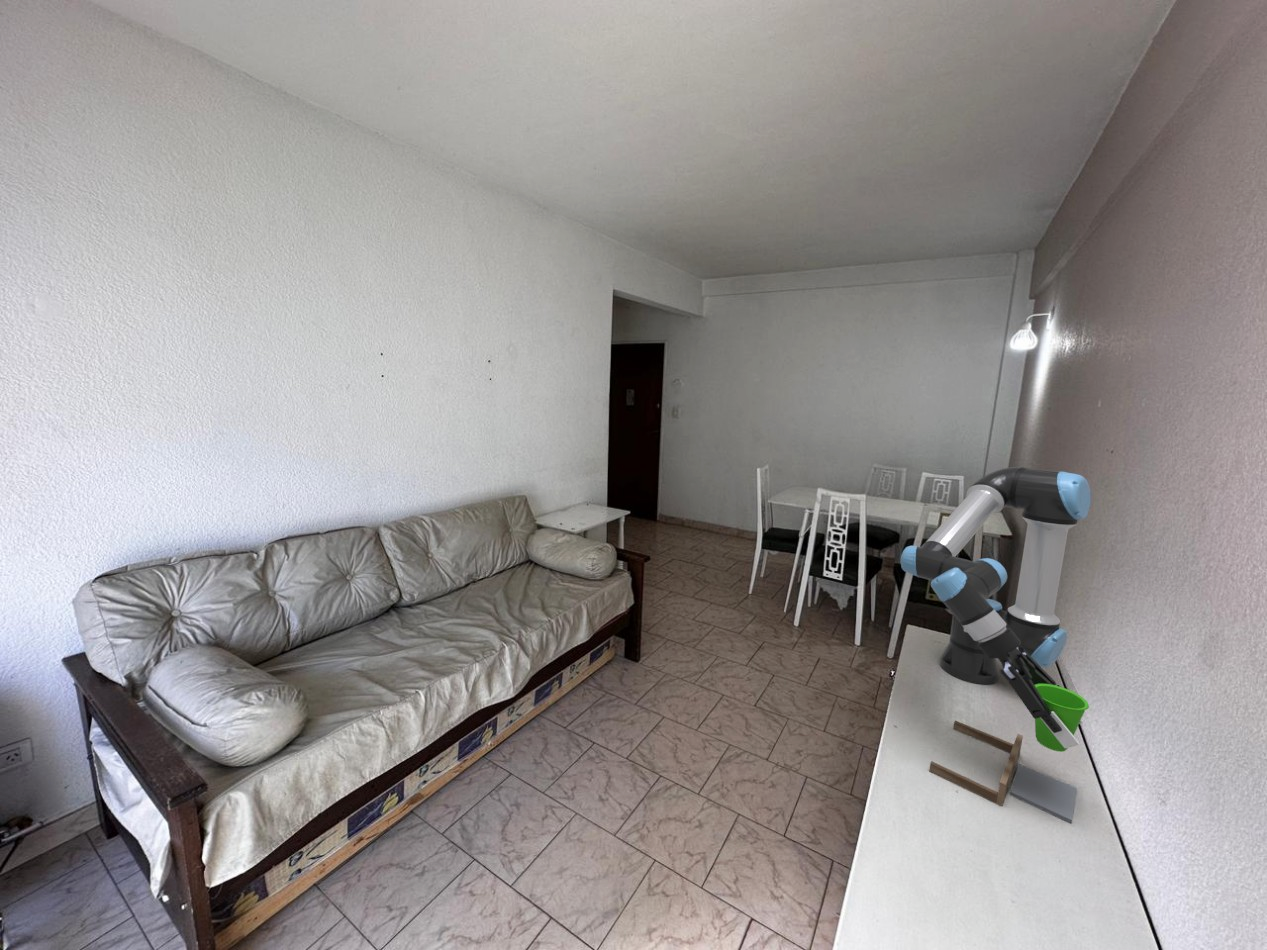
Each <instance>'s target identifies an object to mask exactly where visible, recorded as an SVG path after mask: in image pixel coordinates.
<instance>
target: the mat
mask: <svg viewBox="0 0 1267 950" xmlns="http://www.w3.org/2000/svg"><path fill="white" fill-rule="evenodd" d="M1017 766H1018V767H1017V769H1016V771H1015V776H1014V779H1013V782H1012V785H1011V788H1010V789H1009V795H1010V796H1011V797H1013V798H1016V799H1018V800H1020V801H1022V802H1024V803H1026V804H1029V805H1030V806H1032V807H1035V808H1037V809H1039V810H1040V811H1043V812H1046V813H1048V814H1050V815H1052V816H1054V817H1057V818H1058V819H1061V821H1062V820H1063V821H1064V822H1066V823H1069V824H1072V823H1073V817H1074V815H1073V814H1074V812H1075V811H1074V810H1075V804H1076V798H1077V797H1076V796H1077V793H1078V792H1077V791H1078V787H1076V786H1074V785H1071V784H1069V783H1066V782H1064V781H1062V780H1059V779H1057V778H1054V777H1052V776H1050V775H1048V774H1045V773H1042V772H1040V771H1038V770H1036V769H1034V768H1031V767H1028V766H1026V765H1024V764H1022V763H1019V764H1018V765H1017Z"/></svg>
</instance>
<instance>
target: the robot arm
mask: <svg viewBox="0 0 1267 950" xmlns="http://www.w3.org/2000/svg"><path fill="white" fill-rule="evenodd" d="M965 495H966V497H965V498H964V499H963V500H962V502H960V504H959V505H958V506H957V507H956V508H955V509H954V510H953V511H952V513H950V514H949V516H948V517H947V518H946V519H945V520H944V521H943V523H941V525H940V526H939V527H938V528H937V529H936V530H935V531H934V532H933V533H932V534H931V536H930V537H929V538H928V539H927V540H926V541H925V542H924V543H923V544H922V545H921V546H918V545H909V546H906V547H905V548H904V549H903V551H902V552H901V556H900V559H899V560H900V565H901V566H900V567H901V569H902V571H904V572H905V573H907V574H909V575H912V576H915V577H917V578H921V579H924V580H929V581H931V582H930V587H931V589H932V590H933V591H934V593H935V594H936V595H937V597H938V599H939V600H940V601H941V602H942V603H943V604H944V605H945V606H946V608H947V609H948V610H949V611H950V613H951V614H952V619H951V627H950V636H949V642H948V644H947V645H946V647H945V649H944V651H943V652H942V654H941V656H940V660H939V662H940V663H939V665H940V667H941V668H942V669H943V670H944V671H945V672H946V673H948V674H950V675H952V676H953V677H955V678H957V679H960V680H961V681H965V682H970V683H972V684H978V683H979V685H992V683H993V684H995V682H996V683H997V682H998V681H999V677H1000V674H1001V675H1002V676H1003V677H1004V678H1005V680H1007V682H1008V683H1009V684H1010V686H1011V688H1012V689H1013V690H1014V692H1015V693H1016V694H1017V697H1018V698H1019V699H1020V701H1022V703H1023V704H1024V706H1025V707H1026V709H1027V710H1028V711H1029V713H1030V715H1031V716H1032V718H1033V719H1034V720H1035V719H1036V718H1039V717H1040V718H1041V720H1042V721H1043V722H1044V723H1045V725H1046V726H1047V727H1048V728H1049V730H1050V731H1051V732H1052V733H1053V734H1054V736H1055V737H1056V738H1057V739H1058V741H1059V742H1060V743H1061V744H1062V746H1063V747H1064V748H1068V749H1069V748H1072V747H1077V746H1080V742H1079V741H1078V739H1077V738H1076V737H1075V735H1074V736H1073V734H1072V733H1071V732H1070V731H1069V730H1068V728H1067V727H1066V726H1065V725H1064V724H1063V722H1062V721H1061V720H1060V719H1059V717H1058V716H1057V715H1056V714H1055V713H1054V711H1052V712H1051V711H1050V709H1049V708H1048V706H1047V705H1046V703H1045V701H1044V700H1043V698H1042V697H1041V695H1040V693H1039V692H1038V690H1037V689H1036V687H1035V685H1036V684H1050V685H1055V686H1059V687H1061V686H1060V685H1059V684H1058V685H1057V682H1056V681H1055V680H1054V679H1053V678H1052V677H1051V676H1050V675H1049V674H1048V673H1047V672H1046V671H1045V670H1044V668H1049V667H1051V666H1053V665H1054V663H1055V662H1056V661H1057V660H1058V658H1059V657H1060V655H1061V654H1062V652H1063V650H1064V647H1065V645H1066V643H1067V640H1068V639H1067V638H1068V632H1067V631H1066V630H1065V629H1064V628H1060V625H1061V620H1060V618H1059V617H1058V616H1057V615H1056V614H1055V609H1056V605H1057V598H1058V591H1059V585H1060V580H1061V574H1062V568H1063V563H1064V557H1065V550H1066V545H1067V537H1068V532H1069V530H1070V529H1072V528H1073V527H1076V526H1077V525H1078V520H1079V521H1081V520H1084V519H1085V518H1087V516H1088V514H1089V509H1090V507H1091V498H1092V497H1091V488H1090V484H1089V482H1088V481H1087V479H1086V477H1084V476H1083V475H1080V474H1079V473H1078V474H1077V473H1071V472H1066V471H1060V470H1059V471H1058V470H1050V469H1041V468H1040V469H1039V468H1029V467H1023V466H1022V467H1021V466H1010V467H1005V468H1000V469H998V470H995V471H993V472H990V473H987V474H986V475H984V476H983V477H981V478H979V479H977V481H974V483H973V484H972V485H971V486H970V487H969V488H968V489H967V491H966V494H965ZM1003 508H1014V509H1017V510H1022V513H1021V514H1022V515H1021V518H1022V519H1023V520H1024V521H1025V522H1026V523H1027V527H1026V533H1025V540H1024V544H1023V545H1024V546H1023V552H1022V558H1021V559H1022V560H1021V565H1020V571H1019V579H1018V584H1017V591H1016V599H1015V603H1014V605H1011V606H1009V607H1008V608H1007V610H1004V609H1003V606H1002V604H1001V602H999V601H998V600H994V599H991V598H990V597H991V596H993V595H994V594H996V593H997V592H999V591H1000V590H1001V588H1002V587H1003V586H1004V585H1005V583H1007V580H1008V573H1007V570H1006V569H1005V567H1004V565H1002V564H1001V563H1000V562H999V561H998V560H995V559H992V558H988V557H986V558H979V559H977V560H975V561H973V560H969V559H965V558H961V557H958V556H957V555H958V554H959V553H960V552H961V551H962V550H963V548H965V546H966V545H967V544H968V543H969V541H970V540H971V539H972V538H973V537H974V535H976V533H977V532H979V530H980V529H981V528H982V527H983V525H985V523H986V522H987V521H988V520H989V518H990V517H992V515H993V514H996V513H999V512H1001V511H1002V510H1004V509H1003ZM956 556H957V557H956ZM997 659H998V660H999V662H1000V663H1001V665H1002V668H1003V669H1002V668H1001V669H999V666H998V662H997ZM1038 709H1039V710H1038ZM1083 723H1084V721H1083V719H1082V718H1081V720H1080V722H1079V725H1081V724H1083Z"/></svg>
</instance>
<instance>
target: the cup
mask: <svg viewBox="0 0 1267 950" xmlns="http://www.w3.org/2000/svg"><path fill="white" fill-rule="evenodd" d="M1059 686H1060V685H1059ZM1059 686H1056V685H1050V684H1036V685H1035V687H1036V689H1037V690H1038V692H1039V693H1040V695H1041V697H1042V698H1043V700H1044V701H1045V703H1046V705H1047V706H1048V708H1049V709H1050V711H1051V712H1052V711H1054V713H1055V714H1056V715H1057V716H1058V717H1059V719H1060V720H1061V721H1062V722H1063V724H1064V725H1065V726H1066V727H1067V728H1068V730H1069V731H1070V732H1071V733H1072V734H1073V736H1074V737H1075V733H1076V731H1077V728H1078V727H1079V725H1080V724H1079V722H1080V720H1081V719H1082V717H1083V715H1084V713H1085V710H1088V709H1089V702H1087V700H1086V699H1085V698H1084V697H1083V696H1081V695H1080V694H1078V693H1076V692H1075V691H1072V690H1069V689H1068V688H1065V687H1061V686H1060V687H1059ZM1038 710H1039V709H1038ZM1034 727H1035V738H1036V741H1037V742H1038V744H1039V745H1042V746H1043V747H1045V748H1047V749H1049V750H1051V751H1054V752H1065V751H1066V750H1068V749H1069V748H1064V747H1063V746H1062V744H1061V743H1060V742H1059V741H1058V739H1057V738H1056V737H1055V736H1054V734H1053V733H1052V732H1051V731H1050V730H1049V728H1048V727H1047V726H1046V725H1045V723H1044V722H1043V721H1042V720H1041V718H1040V717H1039V718H1036V719H1034Z"/></svg>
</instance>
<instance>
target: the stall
mask: <svg viewBox="0 0 1267 950" xmlns="http://www.w3.org/2000/svg"><path fill="white" fill-rule="evenodd" d="M952 728H953V730H954V731H956V732H959V733H961V734H963V735H966V736H968V737H970V736H971V738H973V739H976V740H978V741H980V742H983V743H985V744H987V745H990V746H992V747H994V748H996V749H999V750H1002V751H1004V752H1006V753H1009V756H1008V759H1007V761H1006V765H1005V767H1004V770H1003V773H1002V776H1001V778H1000V781H999V784H998V785H999V786H998V790H997V791H996V790H994V789H992V788H990V787H987V786H986V785H984V784H981V783H979V782H977V781H974V780H973V779H972V778H969V777H966V776H964V775H962V774H960V773H957V772H956V771H954V770H951V769H949V768H947V767H945V766H943V765H941V764H938V763H936V762H934V761H932V760H931V761H930V763H929V772H930V773H932V774H934V775H936V776H939V777H941V778H943V779H945V780H947V781H948V782H951V783H953V784H955V785H956V786H959V787H961V788H963V789H964V790H966V791H967V790H968V791H969V792H971V793H973V794H976V795H977V796H979V797H982V798H983V799H986V800H988V801H989V802H992V803H994V804H995V805H996V804H997V805H998V806H999V807H1000V806H1001V807H1003V806H1004V803H1005V799H1006V796H1007V794H1008V791H1009V788H1010V786H1011V782H1012V779H1013V776H1014V773H1015V770H1016V767H1017V766H1018V762H1019V759H1020V755H1021V750H1022V745H1023V738H1024V735H1021V734H1019V733H1017V735H1016V737H1015V740H1014V743H1012V742H1009V741H1006V740H1004V739H1002V738H999V737H997V736H995V735H992V734H990V733H987V732H986V731H982V730H980V729H977V728H975V727H972V726H970V725H967V724H965V723H962V722H960V721H957V720H954V722H953V727H952Z"/></svg>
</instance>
